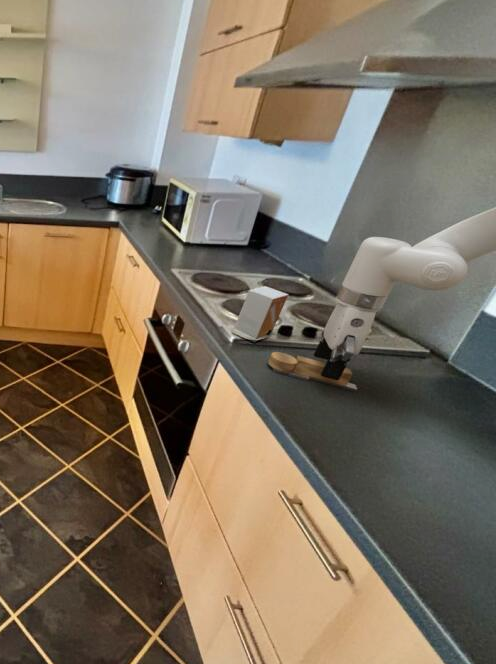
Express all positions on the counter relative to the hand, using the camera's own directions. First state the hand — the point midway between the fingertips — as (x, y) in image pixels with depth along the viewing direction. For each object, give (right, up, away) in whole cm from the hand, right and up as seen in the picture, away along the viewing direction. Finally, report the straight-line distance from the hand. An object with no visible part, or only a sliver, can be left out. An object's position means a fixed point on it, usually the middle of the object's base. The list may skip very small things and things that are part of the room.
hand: (325, 367), depth 93 cm
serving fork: (-1, -3, +2) cm, 4 cm away
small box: (-4, +6, +20) cm, 21 cm away
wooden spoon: (-3, -2, +2) cm, 4 cm away
